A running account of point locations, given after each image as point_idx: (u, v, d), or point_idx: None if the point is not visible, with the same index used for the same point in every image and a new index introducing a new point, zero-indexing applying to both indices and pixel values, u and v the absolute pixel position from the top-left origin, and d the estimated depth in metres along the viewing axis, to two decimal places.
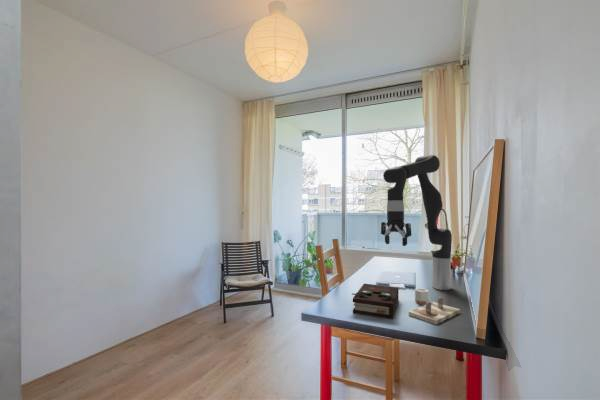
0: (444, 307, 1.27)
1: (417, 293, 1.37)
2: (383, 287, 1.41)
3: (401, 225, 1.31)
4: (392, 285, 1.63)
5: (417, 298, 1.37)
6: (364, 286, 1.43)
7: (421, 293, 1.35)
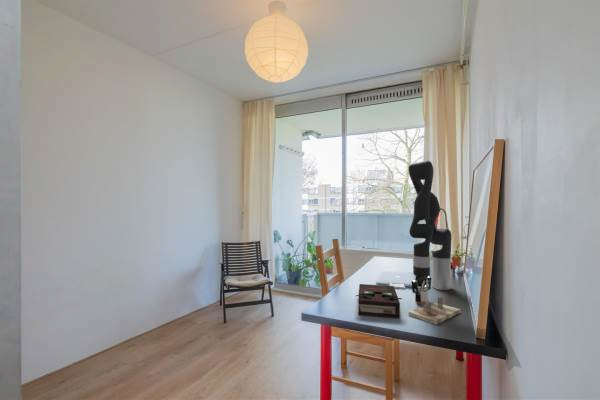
0: (444, 307, 1.27)
1: None
2: (380, 287, 1.41)
3: (427, 280, 1.39)
4: (392, 285, 1.63)
5: None
6: (361, 286, 1.42)
7: (421, 293, 1.35)
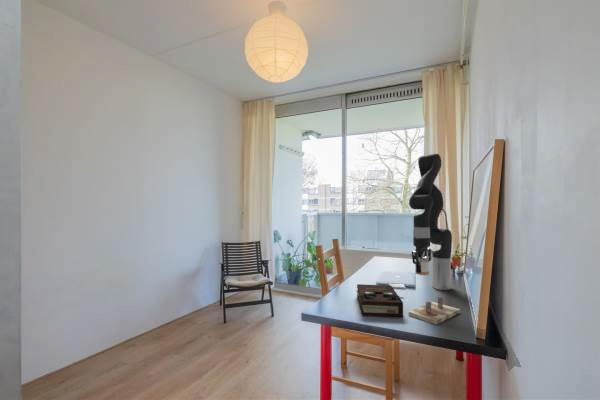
0: (444, 307, 1.27)
1: None
2: (378, 287, 1.42)
3: (427, 251, 1.39)
4: (392, 285, 1.63)
5: None
6: (360, 287, 1.41)
7: (421, 264, 1.35)
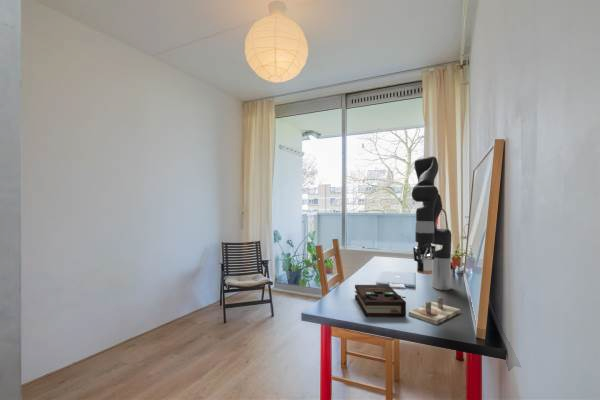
0: (444, 307, 1.27)
1: None
2: (376, 287, 1.42)
3: (431, 248, 1.26)
4: (392, 285, 1.63)
5: None
6: (359, 287, 1.41)
7: (424, 261, 1.22)
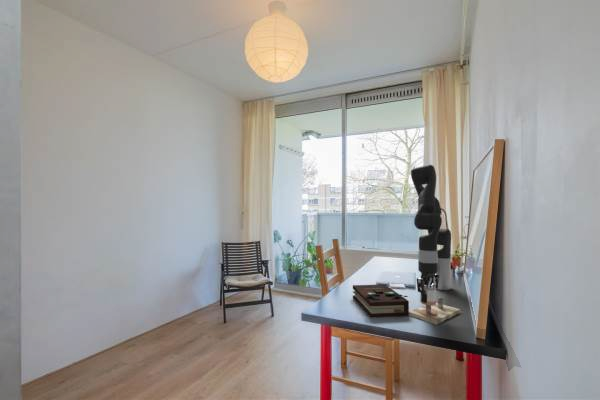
0: (444, 307, 1.27)
1: None
2: (374, 286, 1.42)
3: (434, 277, 1.22)
4: (392, 285, 1.63)
5: None
6: (358, 288, 1.40)
7: (427, 292, 1.18)
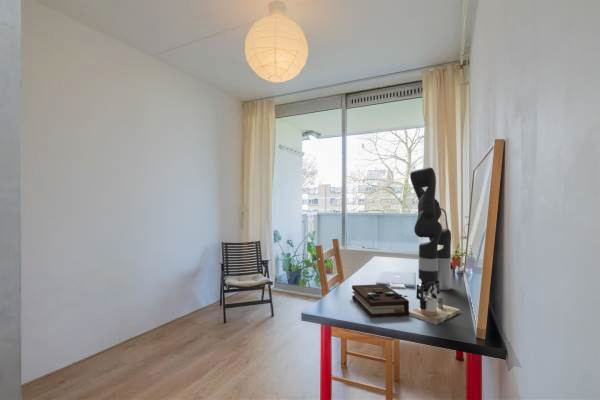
0: (444, 307, 1.27)
1: None
2: (374, 286, 1.42)
3: (435, 283, 1.22)
4: (392, 285, 1.63)
5: None
6: (357, 288, 1.40)
7: (428, 302, 1.18)
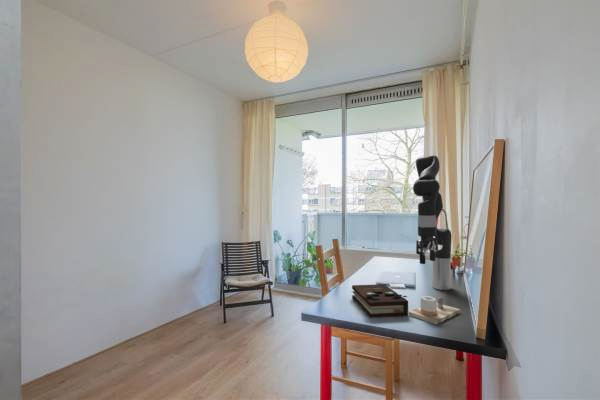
0: (444, 307, 1.27)
1: (423, 302, 1.19)
2: (374, 286, 1.42)
3: (433, 240, 1.28)
4: (392, 285, 1.63)
5: (423, 308, 1.19)
6: (357, 288, 1.40)
7: (428, 302, 1.18)
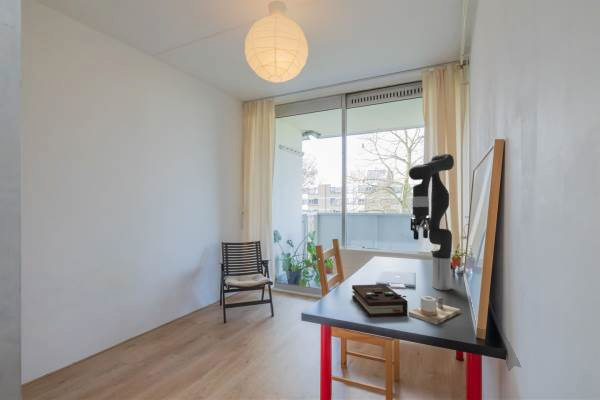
0: (444, 307, 1.27)
1: (423, 302, 1.19)
2: (374, 286, 1.42)
3: (426, 219, 1.43)
4: (392, 285, 1.63)
5: (423, 308, 1.19)
6: (357, 288, 1.40)
7: (428, 302, 1.18)
